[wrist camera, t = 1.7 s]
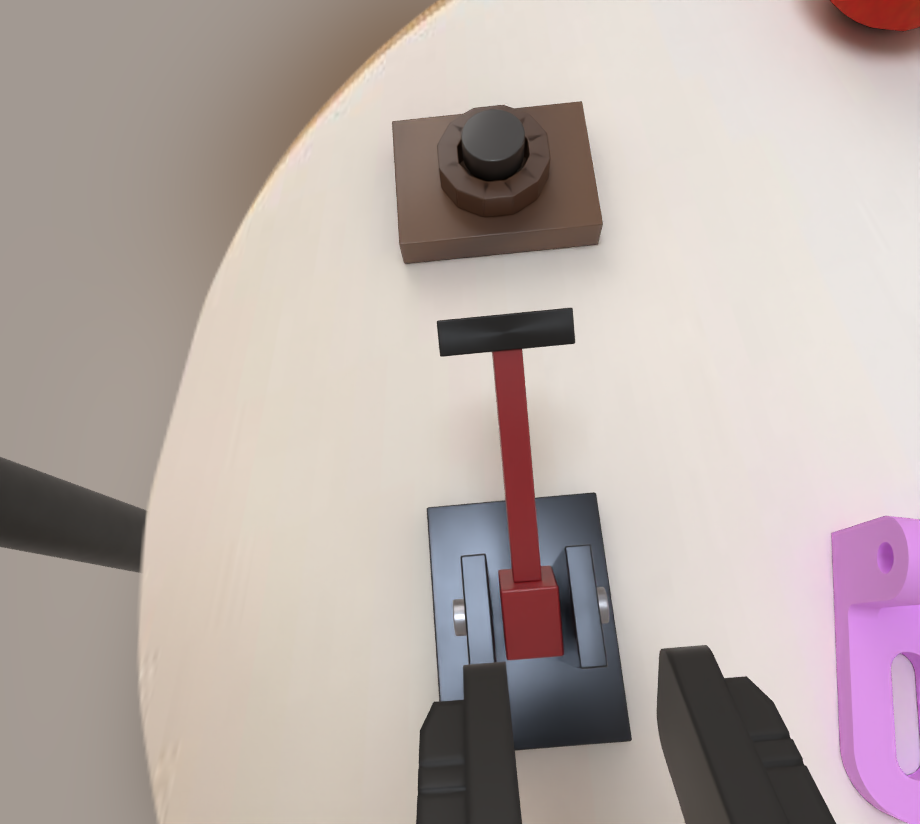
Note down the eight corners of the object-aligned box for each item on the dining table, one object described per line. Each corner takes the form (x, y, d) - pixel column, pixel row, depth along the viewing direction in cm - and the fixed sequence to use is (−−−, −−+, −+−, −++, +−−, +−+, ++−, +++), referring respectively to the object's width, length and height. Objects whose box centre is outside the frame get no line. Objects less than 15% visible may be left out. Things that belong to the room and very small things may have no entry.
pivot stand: (428, 511, 38) (402, 463, 28) (593, 496, 38) (628, 442, 27) (444, 752, 34) (421, 801, 24) (627, 737, 34) (683, 780, 24)
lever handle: (438, 321, 27) (435, 320, 25) (565, 309, 27) (574, 307, 25) (470, 637, 29) (469, 664, 26) (590, 626, 29) (601, 653, 26)
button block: (404, 264, 43) (394, 227, 39) (396, 144, 46) (387, 99, 42) (598, 244, 42) (607, 205, 39) (578, 125, 45) (585, 78, 41)
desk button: (465, 184, 40) (463, 164, 38) (460, 133, 41) (458, 111, 40) (527, 177, 40) (528, 157, 38) (520, 127, 41) (521, 105, 39)
